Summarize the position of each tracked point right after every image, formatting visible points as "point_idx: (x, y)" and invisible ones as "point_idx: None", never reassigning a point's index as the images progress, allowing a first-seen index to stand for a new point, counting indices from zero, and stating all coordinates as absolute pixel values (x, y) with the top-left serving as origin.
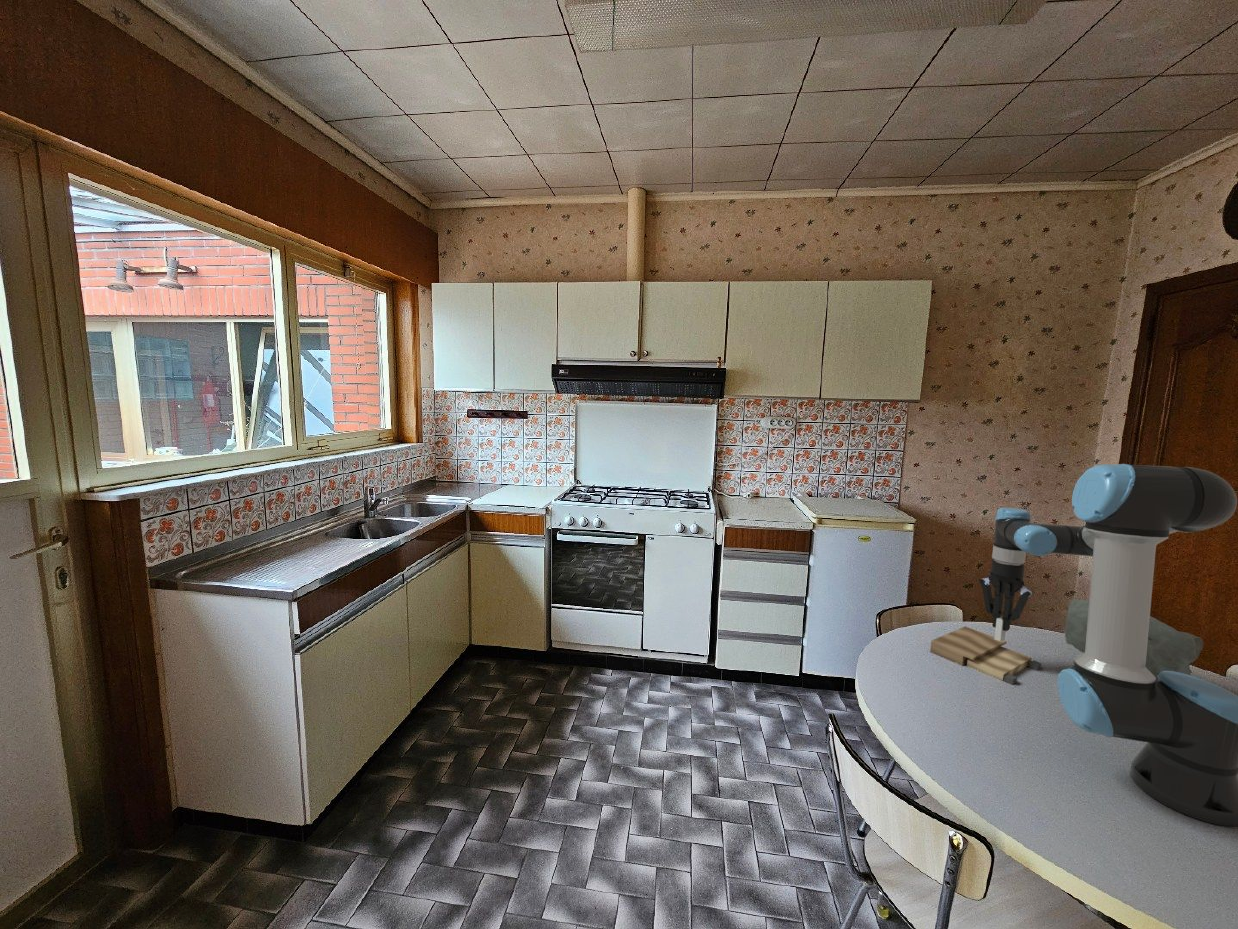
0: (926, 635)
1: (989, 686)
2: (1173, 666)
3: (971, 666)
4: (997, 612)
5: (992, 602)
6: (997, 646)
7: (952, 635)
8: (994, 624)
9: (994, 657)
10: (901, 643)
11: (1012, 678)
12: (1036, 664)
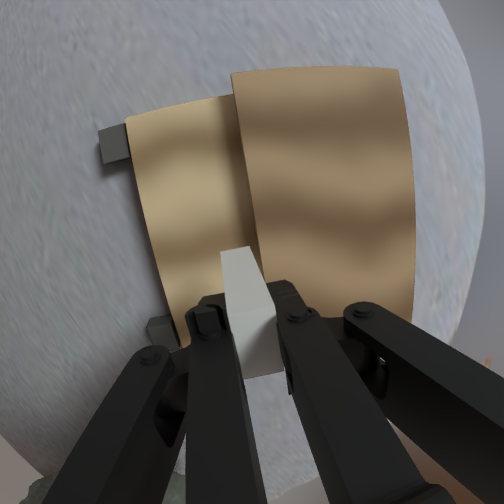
0: (447, 194)
1: (130, 46)
2: (40, 488)
3: None
4: (288, 339)
5: (391, 409)
6: None
7: (400, 200)
8: (280, 288)
9: (231, 222)
10: (435, 61)
11: (103, 137)
12: (153, 330)
